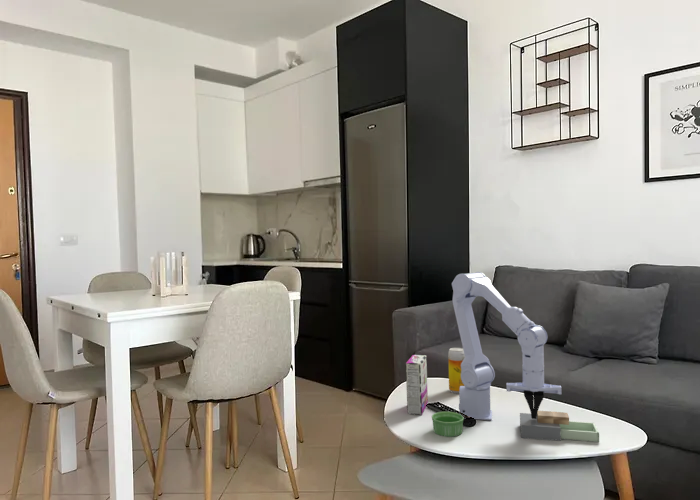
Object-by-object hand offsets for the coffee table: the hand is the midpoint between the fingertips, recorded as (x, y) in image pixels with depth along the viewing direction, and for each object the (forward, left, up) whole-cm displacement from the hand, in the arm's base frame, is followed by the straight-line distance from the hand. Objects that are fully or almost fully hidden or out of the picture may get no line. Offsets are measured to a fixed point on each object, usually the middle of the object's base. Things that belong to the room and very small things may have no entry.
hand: (533, 417), depth 148 cm
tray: (+11, 0, -4) cm, 12 cm away
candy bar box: (-35, +13, -4) cm, 37 cm away
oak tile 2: (+7, 0, -1) cm, 7 cm away
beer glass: (-24, +35, -4) cm, 42 cm away
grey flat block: (+1, 0, -4) cm, 4 cm away
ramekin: (-24, -4, -4) cm, 24 cm away
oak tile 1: (+3, 0, -1) cm, 3 cm away
